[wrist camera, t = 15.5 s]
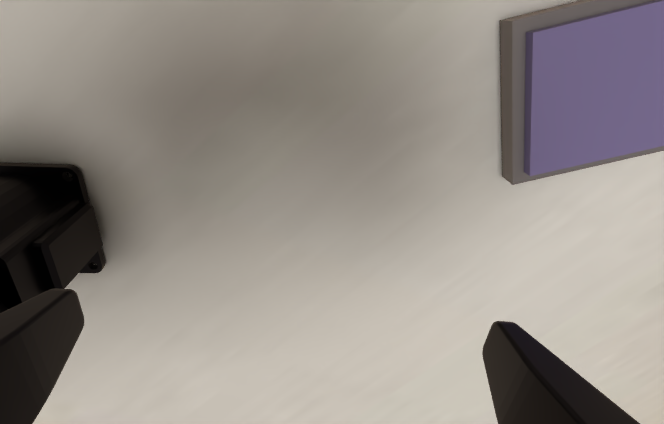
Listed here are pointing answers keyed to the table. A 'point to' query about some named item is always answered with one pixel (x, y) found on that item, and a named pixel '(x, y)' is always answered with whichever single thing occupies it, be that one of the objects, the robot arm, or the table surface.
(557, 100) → the ink pad
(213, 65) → the table surface
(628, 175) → the table surface
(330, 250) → the table surface
